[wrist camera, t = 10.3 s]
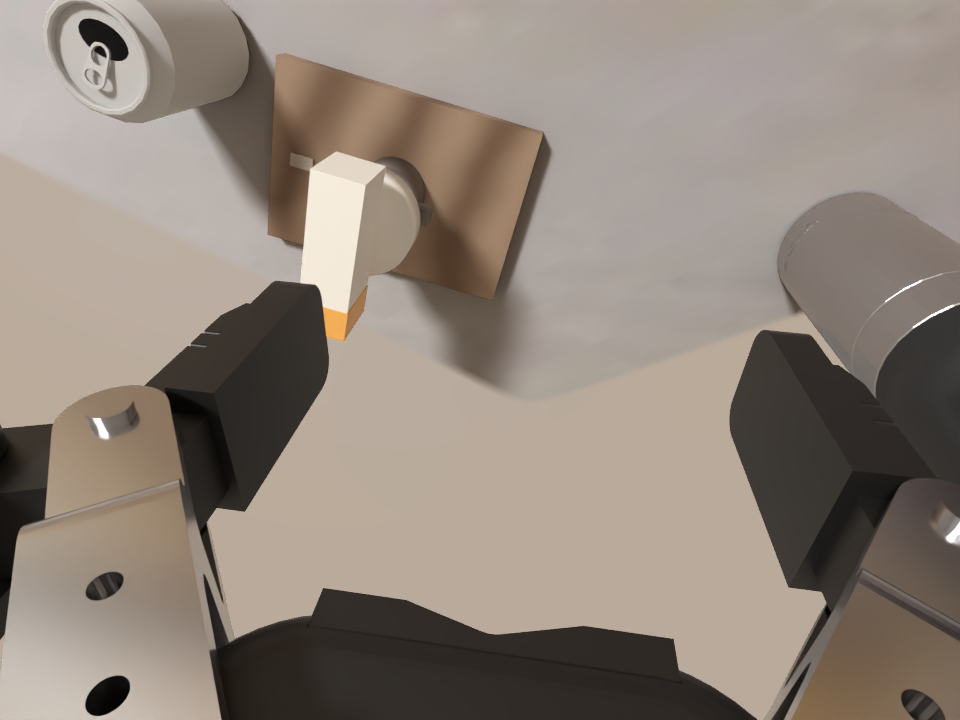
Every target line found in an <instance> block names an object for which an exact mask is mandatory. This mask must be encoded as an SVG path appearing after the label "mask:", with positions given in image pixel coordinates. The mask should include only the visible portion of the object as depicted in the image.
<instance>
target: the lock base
mask: <svg viewBox="0 0 960 720" xmlns="http://www.w3.org/2000/svg"><path fill="white" fill-rule="evenodd" d="M542 136H543V132H541V131H538V130H535V129H531V128H528V127H525V126H521V125H518V124H515V123H512V122H508V121H505V120H502V119H498V118H495V117H492V116H489V115H485V114H482V113H479V112H475V111H472V110H469V109H466V108H462V107H459V106H456V105H452V104H449V103H446V102H443V101H439V100H436V99H433V98H429V97H426V96H423V95H420V94H416V93H413V92H410V91H406V90H403V89H400V88H397V87H393V86H390V85H387V84H383V83H380V82H377V81H374V80H370V79H367V78H364V77H360V76H357V75H354V74H351V73H347V72H344V71H341V70H337V69H334V68H331V67H328V66H324V65H321V64H318V63H314V62H311V61H308V60H305V59H301V58H298V57H295V56H292V55H288V54H285V53H284V54H279V55H276V65H275V87H274V108H273V130H272V151H271V172H270V194H269V215H268V235H271V236H274V237H278V238H281V239H284V240H288V241H291V242H295V243H298V244H301V245H304V235H305V223H306V212H307V200H308V189H309V177H310V169H311V168H312V167H314V166H315V165H317V164H318V163H320V162H321V161H323V160H324V159H326V158H327V157H329V156H330V155H332V154H333V153H335V152H336V151H337V152H340V153H343V154H347V155H350V156H353V157H357V158H360V159H363V160H367V161H370V162H373V163H377V164H380V165H383V166H386V168H387V169H389V170H391V171H392V172H394V173H395V174H397V175H398V176H399V177H400V178H402V179H403V180H404V181H405V183H406V184H407V185H408V186H409V188H410V189H411V190H412V192H413V194H414V196H415V198H416V200H417V203H418V206H419V210H420V229H419V233H418V236H417V238H416V240H415V242H414V243H413V245H412V247H411V248H410V250H409V251H408V253H407V255H406V256H405V258H404V259H403V260H402V262H401V263H400V264H399V265H398V266H396V267H395V268H394V269H392V270H390V271H393V272H397V273H400V274H403V275H407V276H410V277H414V278H417V279H420V280H424V281H427V282H431V283H434V284H437V285H441V286H444V287H448V288H451V289H455V290H458V291H461V292H465V293H468V294H472V295H475V296H478V297H482V298H485V299H489V300H493V297H494V294H495V290H496V287H497V284H498V280H499V277H500V274H501V271H502V267H503V264H504V261H505V258H506V254H507V251H508V248H509V244H510V241H511V238H512V235H513V231H514V228H515V225H516V222H517V218H518V215H519V212H520V208H521V205H522V202H523V199H524V195H525V192H526V189H527V185H528V182H529V179H530V176H531V172H532V169H533V166H534V163H535V159H536V156H537V153H538V149H539V146H540V143H541V140H542Z"/></svg>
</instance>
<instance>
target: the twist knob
mask: <svg viewBox="0 0 960 720" xmlns="http://www.w3.org/2000/svg"><path fill="white" fill-rule="evenodd" d="M419 229H420V210H419V206H418V203H417V200H416V198H415V196H414V194H413V192H412V190H411V189H410V188H409V186H408V185H407V184H406V183H405V181H404V180H403V179H402V178H400V177H399V176H398V175H397V174H395V173H394V172H392V171H391V170H389V169H387V168H386V166H383V165H380V164H377V163H373V162H370V161H367V160H363V159H360V158H357V157H353V156H350V155H347V154H343V153H340V152H337V151H336V152H335V153H333V154H332V155H330V156H329V157H327V158H326V159H324V160H323V161H321V162H320V163H318V164H317V165H315V166H314V167H312V168H311V169H310V177H309V189H308V200H307V212H306V223H305V235H304V247H303V258H302V270H301V281H300V283H304V284H314V285H316V286H317V287H318V288H319V290H320V293H321V297H322V304H323V313H324V321H325V329H326V337H330V338H333V339H337V340H340V341H344V340H345V339H346V337H347V336H348V334H349V333H350V331H351V330H352V328H353V327H354V325H355V324H356V322H357V320H358V319H359V317H360V316H361V314H362V313H363V311H364V306H365V300H366V293H367V287H368V285H367V281H368V276H373V275H380V274H383V273H386V272H388V271H390V270H392V269H394V268H395V267H396V266H398V265H399V264H400V263H401V262H402V260H403V259H404V258H405V256H406V255H407V253H408V251H409V250H410V248H411V247H412V245H413V243H414V242H415V240H416V238H417V236H418V233H419Z"/></svg>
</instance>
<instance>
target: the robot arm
mask: <svg viewBox="0 0 960 720" xmlns="http://www.w3.org/2000/svg"><path fill="white" fill-rule="evenodd" d="M778 272H779V275H780V279H781V281H782V282H783V284H784V286H785V287H786V289H787V290H788V291H789V293H790V294H791V295H792V297H793V298H794V299H795V301H796V302H797V303H798V305H799V306H800V308H801V309H802V310H803V312H804V313H805V314H806V316H807V317H808V318H809V319H810V321H811V322H812V323H813V325H814V326H815V328H816V329H817V330H818V331H819V333H820V334H821V335H822V337H823V338H824V339H825V341H826V342H827V343H828V345H829V346H830V347H831V348H832V350H833V351H834V352H835V354H836V355H837V356H838V358H839V359H840V360H841V362H842V363H843V364H844V366H845V367H846V368H847V370H848V371H849V372H850V373H848V372H847V371H845V370H844V369H843V368H842V367H840V366H839V365H833V364H832V363H831V362H830V360H829V359H828V357H827V356H826V355H825V354H824V352H823V351H822V349H821V348H820V347H819V345H818V344H817V342H816V341H815V340H814V338H813V337H812V336H810V335H808V334H800V333H799V334H798V333H790V332H779V331H769V330H763V331H761V332H760V333H759V334H758V335H757V336H756V338H755V340H754V342H753V345H752V348H751V350H750V353H749V356H748V359H747V361H746V365H745V367H744V370H743V373H742V375H741V378H740V381H739V384H738V387H737V389H736V392H735V395H734V398H733V401H732V404H731V409H730V431H731V435H732V438H733V441H734V444H735V446H736V449H737V452H738V454H739V457H740V460H741V462H742V465H743V468H744V470H745V473H746V475H747V478H748V481H749V483H750V486H751V489H752V491H753V494H754V497H755V499H756V502H757V505H758V507H759V510H760V513H761V515H762V518H763V521H764V523H765V526H766V529H767V531H768V534H769V536H770V539H771V542H772V544H773V547H774V550H775V552H776V555H777V558H778V560H779V563H780V565H781V568H782V571H783V573H784V576H785V579H786V582H787V584H788V587H790V588H798V589H805V590H812V591H820V592H822V593H823V595H824V598H825V600H826V602H827V603H826V605H825V607H824V608H823V610H822V611H821V613H820V615H819V616H818V618H817V620H816V622H815V624H814V626H813V628H812V629H811V631H810V633H809V635H808V637H807V639H806V641H805V643H804V645H803V647H802V649H801V651H800V653H799V654H798V656H797V658H796V660H795V662H794V664H793V666H792V668H791V670H790V672H789V673H788V675H787V677H786V679H785V681H784V683H783V685H782V687H781V689H780V691H779V693H778V695H777V697H776V698H775V700H774V702H773V704H772V706H771V708H770V710H769V711H768V713H767V715H766V717H765V718H764V720H960V244H958V243H957V242H955V241H954V240H952V239H950V238H949V237H947V236H946V235H944V234H942V233H941V232H939V231H938V230H936V229H934V228H933V227H931V226H930V225H928V224H926V223H925V222H923V221H922V220H920V219H919V218H917V217H916V216H914V215H912V214H911V213H909V212H908V211H906V210H904V209H903V208H901V207H899V206H898V205H896V204H894V203H893V202H891V201H890V200H888V199H886V198H884V197H881V196H878V195H874V194H866V193H854V194H845V195H842V196H838V197H835V198H831V199H829V200H827V201H825V202H823V203H821V204H818V205H817V206H815V207H814V208H812V209H811V210H809V211H808V212H806V213H805V214H804V215H803V216H802V217H801V218H800V219H799V220H798V221H797V222H796V223H795V224H794V225H793V226H792V227H791V229H790V230H789V232H788V233H787V234H786V236H785V238H784V240H783V242H782V244H781V247H780V251H779V255H778ZM328 366H329V355H328V347H327V338H326V329H325V321H324V313H323V304H322V297H321V293H320V290H319V288H318V287H317V286H316V285H314V284H304V283H294V282H284V281H274V282H273V283H271V284H270V285H269V286H268V287H267V288H266V289H265V290H264V291H263V292H262V293H261V294H260V295H259V296H258V297H257V298H256V299H255V300H254V301H253V302H252V303H251V304H247V303H246V304H244V305H242V306H240V307H238V308H235V309H233V310H231V311H229V312H227V313H225V314H223V315H221V316H220V317H219V318H218V319H217V320H216V321H214V323H212V324H211V325H210V326H209V327H208V328H207V329H206V330H205V333H204V334H203V333H201V334H200V335H199V336H198V337H197V338H196V339H195V340H194V341H193V342H192V343H191V346H187V347H186V348H185V349H184V350H183V351H182V352H181V353H179V354H178V355H177V356H176V357H175V358H174V359H173V360H172V361H171V362H170V363H169V364H167V365H166V366H165V367H164V368H163V369H162V370H161V371H160V372H159V373H158V374H157V375H156V376H154V377H153V378H152V379H151V380H150V381H149V382H148V383H147V384H146V385H145V386H140V385H130V386H121V387H115V388H110V389H106V390H102V391H99V392H97V393H94V394H91V395H89V396H87V397H84V398H82V399H80V400H79V401H77V402H75V403H74V404H72V405H70V406H69V407H68V408H66V409H65V410H64V411H63V412H62V413H61V414H60V415H59V416H58V417H57V418H56V420H55V422H54V424H47V425H35V426H25V427H14V428H3V429H2V427H1V425H0V639H1V638H2V637H3V635H4V634H5V637H4V645H3V653H2V661H1V670H0V720H757V719H756V718H755V717H753V716H752V715H751V714H750V713H748V712H747V711H746V710H745V709H743V708H742V707H741V706H740V705H738V704H737V703H736V702H734V701H733V700H732V699H730V698H728V697H727V696H725V695H724V694H723V693H721V692H719V691H718V690H716V689H715V688H713V687H712V686H710V685H708V684H706V683H704V682H702V681H700V680H699V679H696V678H695V677H693V676H691V675H689V674H686V673H684V672H681V671H679V669H678V663H677V657H676V651H675V645H674V639H670V638H663V637H656V636H648V635H642V634H635V633H628V632H622V631H615V630H607V629H601V628H594V627H587V626H579V627H570V628H561V629H550V630H540V631H531V632H521V633H511V634H501V635H494V634H487V633H484V632H481V631H479V630H477V629H474V628H472V627H469V626H467V625H464V624H462V623H460V622H457V621H455V620H452V619H450V618H448V617H445V616H443V615H440V614H438V613H436V612H433V611H431V610H428V609H426V608H424V607H421V606H419V605H416V604H414V603H412V602H409V601H407V600H401V599H394V598H388V597H381V596H374V595H367V594H360V593H353V592H346V591H339V590H333V589H325V588H323V590H322V593H321V595H320V597H319V600H318V602H317V605H316V607H315V610H314V612H313V614H312V616H303V617H298V618H294V619H289V620H284V621H280V622H277V623H274V624H271V625H268V626H265V627H262V628H259V629H256V630H254V631H252V632H250V633H247V634H245V635H243V636H241V637H238V638H236V639H235V637H234V633H233V630H232V625H231V621H230V617H229V612H228V608H227V603H226V599H225V594H224V590H223V585H222V581H221V576H220V572H219V567H218V563H217V558H216V554H215V549H214V545H213V540H212V535H211V531H210V529H209V526H208V522H207V521H208V519H209V518H210V517H211V515H212V514H213V512H214V511H215V509H216V508H222V509H229V510H237V511H244V512H245V510H246V509H247V507H248V506H249V504H250V502H251V501H252V499H253V498H254V496H255V495H256V493H257V491H258V490H259V488H260V486H261V485H262V483H263V482H264V480H265V479H266V477H267V475H268V474H269V472H270V471H271V469H272V467H273V466H274V464H275V462H276V461H277V459H278V458H279V456H280V455H281V453H282V452H283V450H284V448H285V447H286V445H287V444H288V442H289V440H290V439H291V437H292V436H293V434H294V432H295V430H296V429H297V428H298V426H299V424H300V423H301V421H302V420H303V418H304V416H305V415H306V413H307V412H308V410H309V408H310V407H311V405H312V403H313V402H314V400H315V399H316V397H317V396H318V394H319V393H320V391H321V389H322V388H323V386H324V383H325V381H326V378H327V373H328Z"/></svg>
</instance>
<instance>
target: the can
mask: <svg viewBox="0 0 960 720" xmlns="http://www.w3.org/2000/svg"><path fill="white" fill-rule="evenodd" d="M43 36H44V46H45V50H46V53H47V55H48V58H49V61H50V64H51V67H52V68H53V70H54V71H55V73H56V75H57V76H58V78H59V80H60V81H61V83H62V84H63V85H64V86H65V88H66V89H67V90H68V91H69V92H70V93H71V94H72V95H73V96H74V97H75V98H76V99H77V100H78V101H80V102H81V103H83V104H84V105H86V106H87V107H89V108H90V109H91V110H94V111H97V112H99V113H102V114H105V115H107V116H110V117H112V118H115V119H118V120H121V121H123V122H133V123H144V122H147V121H151V120H154V119H157V118H161V117H164V116H168V115H171V114H174V113H178V112H181V111H185V110H188V109H191V108H195V107H198V106H202V105H205V104H209V103H212V102H215V101H219V100H222V99H224V98H227V97H230V96H232V95H233V94H234V93H235V92H236V91H237V90H238V89H239V88H240V87H241V86H242V84H243V82H244V80H245V77H246V75H247V73H248V64H249V51H248V46H247V41H246V36H245V34H244V32H243V30H242V27H241V25H240V23H239V21H238V19H237V17H236V16H235V15H234V13H233V12H232V11H231V10H230V8H229V7H228V6H227V4H226V3H225V2H224V1H222V0H55V1H54V3H53V4H52V6H51V7H50V8H49V10H48V11H47V12H46V17H45V21H44V26H43Z"/></svg>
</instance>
